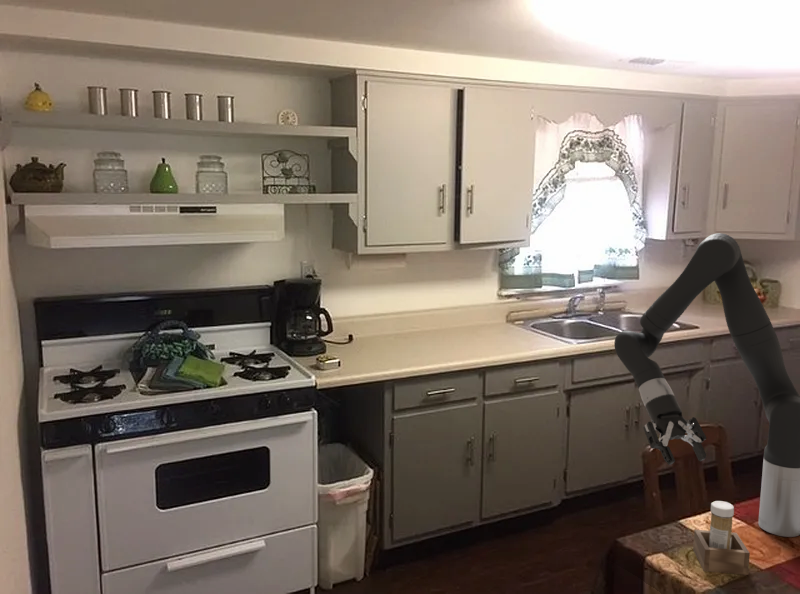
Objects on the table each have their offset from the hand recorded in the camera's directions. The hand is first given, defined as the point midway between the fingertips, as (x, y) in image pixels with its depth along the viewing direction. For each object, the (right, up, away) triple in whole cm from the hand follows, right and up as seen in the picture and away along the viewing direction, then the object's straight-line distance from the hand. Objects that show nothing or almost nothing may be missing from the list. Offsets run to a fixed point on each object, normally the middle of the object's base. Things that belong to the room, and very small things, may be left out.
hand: (687, 461), depth 160 cm
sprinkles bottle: (+3, -20, -9) cm, 22 cm away
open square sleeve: (+3, -20, -9) cm, 22 cm away
